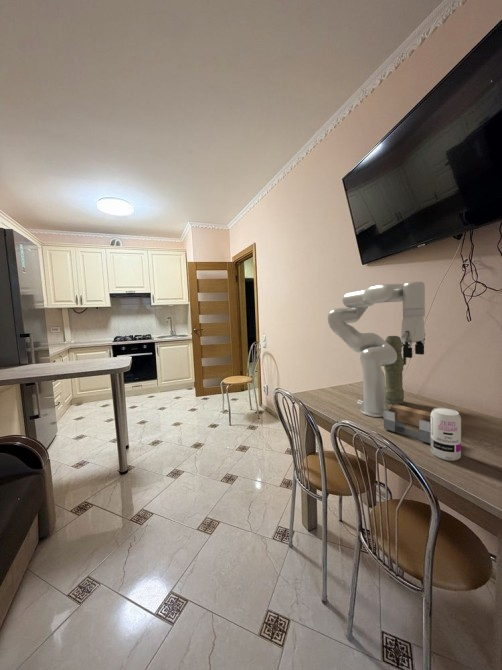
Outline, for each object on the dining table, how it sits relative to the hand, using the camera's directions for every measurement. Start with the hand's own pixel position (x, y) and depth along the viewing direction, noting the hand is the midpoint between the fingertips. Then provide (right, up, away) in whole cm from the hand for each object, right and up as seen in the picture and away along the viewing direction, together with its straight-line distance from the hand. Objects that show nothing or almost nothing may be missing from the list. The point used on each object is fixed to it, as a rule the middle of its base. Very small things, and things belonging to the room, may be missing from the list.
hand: (413, 355), depth 108 cm
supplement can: (-1, -32, -18) cm, 37 cm away
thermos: (+10, -27, +33) cm, 44 cm away
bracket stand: (-3, -31, -3) cm, 31 cm away
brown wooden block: (-3, -26, -3) cm, 26 cm away
